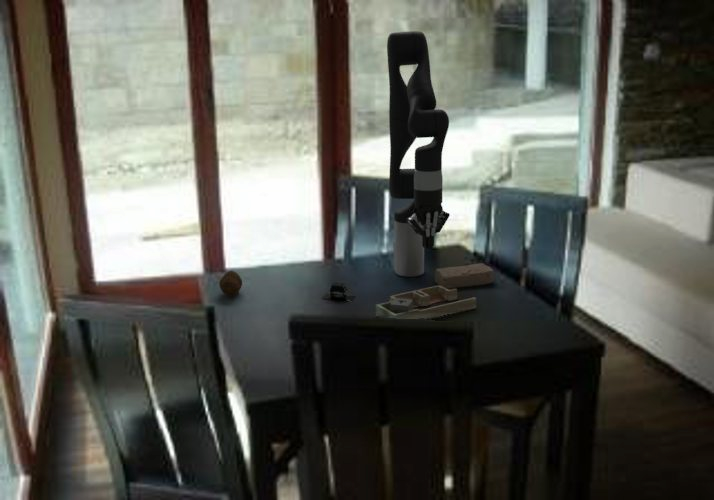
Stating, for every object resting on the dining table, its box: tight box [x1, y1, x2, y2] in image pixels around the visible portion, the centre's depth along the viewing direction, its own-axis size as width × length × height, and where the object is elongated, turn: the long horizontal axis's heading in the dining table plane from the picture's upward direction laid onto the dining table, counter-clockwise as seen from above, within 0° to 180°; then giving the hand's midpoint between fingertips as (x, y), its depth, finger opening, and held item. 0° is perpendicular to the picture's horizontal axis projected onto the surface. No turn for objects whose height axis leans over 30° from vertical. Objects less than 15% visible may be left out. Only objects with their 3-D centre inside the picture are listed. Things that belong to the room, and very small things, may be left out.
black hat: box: [320, 282, 357, 303], centre depth 240 cm, size 12×7×5 cm, turn 75°
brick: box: [434, 262, 495, 289], centre depth 251 cm, size 17×8×5 cm, turn 104°
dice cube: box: [390, 298, 414, 314], centre depth 222 cm, size 5×5×5 cm
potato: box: [219, 270, 243, 298], centre depth 244 cm, size 7×12×7 cm, turn 9°
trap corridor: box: [375, 284, 477, 319], centre depth 229 cm, size 15×27×4 cm, turn 120°
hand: (428, 248), depth 222 cm, fingers closed
